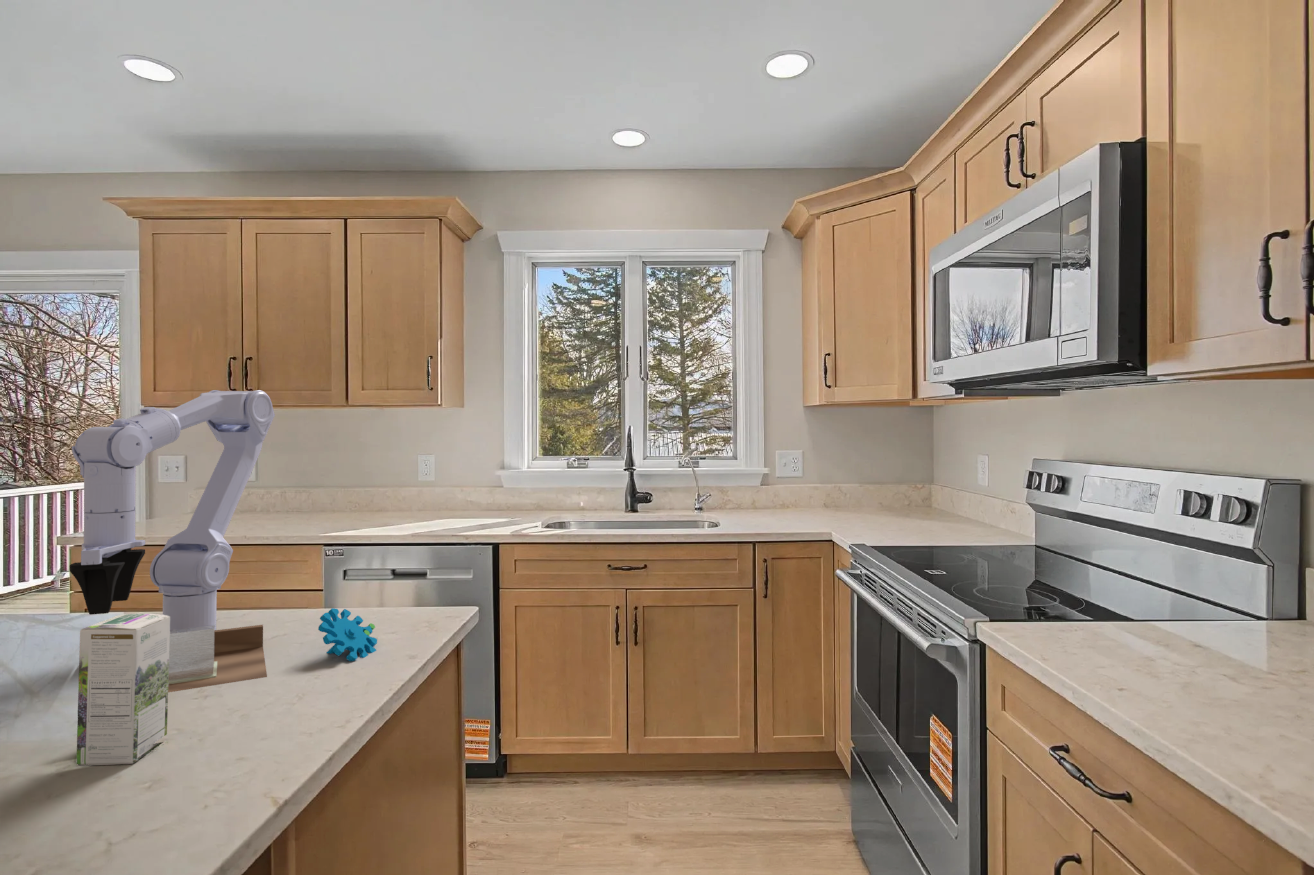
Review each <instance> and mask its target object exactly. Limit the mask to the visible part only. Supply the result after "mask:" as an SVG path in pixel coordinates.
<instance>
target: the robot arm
mask: <svg viewBox="0 0 1314 875" xmlns="http://www.w3.org/2000/svg"><path fill="white" fill-rule="evenodd" d="M273 406H274V405H273V403H272V399H271V398H270V396H269V395H268V394H267V392H265V391H263V390H260V389H258V390H247V391H245V390H244V391H242V390H218V389H212V390H210V391H208V392H201V393H200V394H199V396H197V397H195V398H193V399H192V400H189V401H187V402H185V403H182V404H181V405H178V406H176V407H173V408H171V409H169V410H168V409H167V410H166V409H164V408H160V407H159V408H157V407H154V406H145V407H142V408H140V409H139V412H140V413H138V414H136V415H133V416H131V417H128V418H123V417H121V418H117V419H114V420H113V421H112V424H110V425H109V426H92V427H89V428H87V429H85V430H84V431H83V432H82V433H80V434H79V436H78V437H77V439H76V441H75V445H73V446H71V452H72V455H73V458H74V459H75V461H76V462H77V463H78V465H79V468H80V469H79V471H80V473H79V474H80V476H82V479H83V543H82V544H81V551H80V561H79V562H78V561H77V562H74V563H70V564H69V571H70V574H72V576H73V577H74V579H75V581H76V582H77V583H78V585H79V587H80V589H81V592H82V596H83V599H84V601H85V605H86V610H87V612H88V613H89V615H103V614H109V613H110V611H111V609H112V605H113V602H122V601H128V599H129V597H130V594H131V592H132V591H131V590H132V586H133V582H134V579H135V575H136V571H137V569H138V567H139V565H140V563H141V561H142V559H143V558H144V556H145V555H146V549H144V548H136V549H134V548H135V547H143V546H145V545H146V540H145V539H136V499H137V498H136V496H137V495H136V491H137V490H136V485H137V483H136V481H137V480H136V479H137V478H136V477H137V474H136V472H137V471H136V469H137V467H138V466H140V465H141V464H142V463H143V462H144V461H145V459H146V457H147V455H148V454H150V453H151V452H152V453H153V452H154V451H156V450H158V449H161V448H163V447H166V446H167V445H169V444H171V443H174V442H176V441H177V440H178V439H179V437H180V434H181V431H182V430H185V429H188V428H191V427H193V426H197V425H198V424H202V423H205V422H206V424H207V426H208V427H209V429H210V431H211V432H212V434H213V436H214V437H215V439H216V441H218V442H220V443H221V444H222V445H223V450H222V452H221V454H220V457H219V458H218V461H217V463H216V465H215V468H214V469H213V472H212V474H211V475H210V478H209V480H208V482H207V484H206V486H205V489H204V491H203V493H202V495H201V497H200V499H199V502H198V504H197V506H196V508H195V510H194V512H193V513H192V514H193V515H192V517H191V518H190V521H189V522H188V525H187V528H185V529H184V530H182V531H180V532H178V533H177V534H175V535H173V536H172V537H170V538H169V539H167V541H166V543H165V545H164V547H163V548H162V549H161V551H159V552H158V553H157V554H156V555H155V556H154V558H152V561H151V563H150V566H149V577H150V580H151V582H152V583H153V585H154V586H156V587H158V593H159V594H162V615H168V616H170V630H178V629H187V628H195V627H204V626H212V625H215V629H214V630H217V598H218V597H217V595H218V594H217V592H218V591H217V590H221V589H222V585H223V584H224V583H225V581H226V580H227V578H228V575H229V572H230V562H231V558H232V555H233V552H234V549H233V548H232V546H231V545H230V544H229V543H228V541H227V540H226V539H225V538H224V536H225V534H226V532H227V529H229V528H228V527H229V525H230V523H231V521H232V518H233V516H234V514H235V511H236V509H237V507H238V504H239V502H240V499H241V498H242V495H243V493H244V490H245V489H246V486H247V484H248V481H249V479H250V478H251V474H252V472H253V470H254V468H255V466H256V463H257V461H258V459H259V456H260V454H261V452H262V448H263V444H264V441H265V438H266V437H267V435H268V432H269V430H270V427H271V425H272V423H273V421H274V418H275V417H276V414H275V412H274V407H273Z"/></svg>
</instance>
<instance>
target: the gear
mask: <svg viewBox="0 0 1314 875" xmlns="http://www.w3.org/2000/svg"><path fill="white" fill-rule="evenodd" d="M339 614H340V617H339V616H338V615H339ZM351 615H352V612H351V611H350V610H348V609H347V608H344V609H343V610H342V611H341V612H340V611H339V609H338V608H331V609H329V611H328V612H325V613H323V614H322V615H321V616H320V617H319V619H320V621H321V623H320V624H319V626H318V628H317V630H318V631H319V632H321V633H326V634H325V635H323V637H322V640H323V643H324V644H325V645H330V644H333V645H332V646H331V647H330V648H329V649H327V651H325V652H326V654H329V655H331V654H335V655H337V656H338V657H340V656H341V655H342V654H343V653H344V652H345V651H349V654H348V655H346V660H347V661H349V662H355V661H356V660H357V659H358V653H359V658H361V659H362V658H363V659H364V658H366V657H368V656H369V654H373V653H375V652H377V649H376V648H375V646H376V645H377V644H378V639H377V638H376V637H373V636H370V635H371V634H372V633H373V632H374V631H373V630H375V628H376V626H375V624H373V623H369V624H368V625H367V626H362V625H361V624H362V623H363V622H364V619H363V618H362V617H361V616H360V615H356V616H355V617H354V618H353V619H352V620H350V619H349V617H350V616H351ZM360 625H361V626H360Z"/></svg>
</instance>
